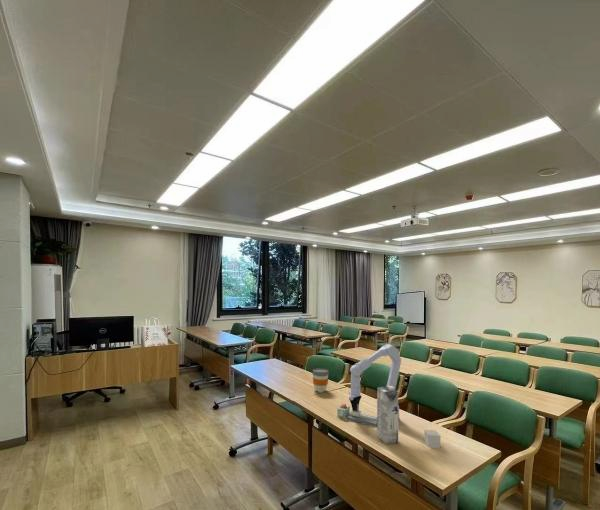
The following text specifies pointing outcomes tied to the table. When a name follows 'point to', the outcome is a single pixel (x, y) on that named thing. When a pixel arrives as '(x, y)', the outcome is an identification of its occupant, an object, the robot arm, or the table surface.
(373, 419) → the rail board
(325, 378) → the reusable coffee cup
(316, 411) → the table surface
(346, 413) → the end cabinet
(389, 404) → the juice carton
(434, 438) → the light grey cube
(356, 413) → the carriage
